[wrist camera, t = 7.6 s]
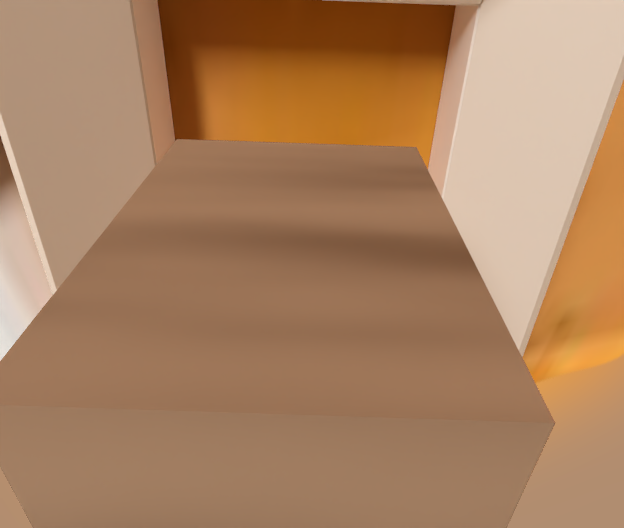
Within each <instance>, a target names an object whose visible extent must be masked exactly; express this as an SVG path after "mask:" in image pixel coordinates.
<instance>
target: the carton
mask: <svg viewBox="0 0 624 528" xmlns="http://www.w3.org/2000/svg"><path fill="white" fill-rule="evenodd" d="M324 1H352V2H380V3H408V4H436V5H456V8H455V14H454V20H453V26H452V32H451V38H450V44H449V49H448V55H447V61H446V67H445V73H444V79H443V85H442V90H441V96H440V102H439V108H438V114H437V120H436V126H435V132H434V137H433V143H432V149H431V155H430V161H429V167H428V171H429V173H430V175H431V177H432V179H433V181H434V183H435V185H436V187H437V189H438V191H439V193H440V195H441V197H442V199H443V201H444V203H445V205H446V207H447V209H448V211H449V213H450V215H451V217H452V219H453V221H454V223H455V225H456V227H457V229H458V231H459V233H460V235H461V237H462V239H463V241H464V243H465V245H466V247H467V249H468V251H469V253H470V255H471V257H472V259H473V261H474V263H475V265H476V267H477V269H478V271H479V273H480V275H481V277H482V279H483V281H484V283H485V285H486V287H487V289H488V291H489V293H490V295H491V297H492V299H493V301H494V303H495V305H496V307H497V309H498V310H499V312H500V314H501V316H502V318H503V320H504V322H505V324H506V326H507V328H508V330H509V332H510V334H511V336H512V338H513V340H514V342H515V344H516V346H517V348H518V350H519V352H520V354H521V356H522V357H523V354H524V351H525V349H526V346H527V343H528V340H529V338H530V335H531V332H532V329H533V327H534V324H535V321H536V318H537V316H538V313H539V310H540V307H541V305H542V302H543V299H544V296H545V294H546V291H547V288H548V285H549V283H550V280H551V277H552V275H553V272H554V269H555V266H556V264H557V261H558V258H559V255H560V253H561V250H562V247H563V244H564V242H565V239H566V236H567V233H568V231H569V228H570V225H571V222H572V220H573V217H574V214H575V211H576V209H577V206H578V203H579V200H580V198H581V195H582V192H583V189H584V187H585V184H586V181H587V178H588V176H589V173H590V170H591V167H592V165H593V162H594V159H595V156H596V154H597V151H598V148H599V146H600V143H601V140H602V137H603V135H604V132H605V129H606V126H607V124H608V121H609V118H610V115H611V113H612V110H613V107H614V104H615V102H616V99H617V96H618V93H619V91H620V88H621V85H622V82H623V80H624V0H324ZM0 136H1V139H2V142H3V145H4V148H5V151H6V154H7V157H8V160H9V163H10V167H11V170H12V173H13V176H14V179H15V182H16V185H17V188H18V191H19V194H20V197H21V200H22V203H23V206H24V209H25V213H26V216H27V219H28V222H29V225H30V228H31V231H32V234H33V237H34V240H35V243H36V246H37V249H38V252H39V255H40V259H41V262H42V265H43V268H44V271H45V274H46V277H47V280H48V283H49V286H50V289H51V292H52V295H53V294H54V293H55V292H56V291H57V289H58V288H59V287H60V286H61V284H62V283H63V282H64V281H65V279H66V278H67V277H68V276H69V274H70V273H71V272H72V271H73V269H74V268H75V267H76V266H77V264H78V263H79V262H80V260H81V259H82V258H83V257H84V255H85V254H86V253H87V252H88V250H89V249H90V248H91V247H92V245H93V244H94V243H95V242H96V240H97V239H98V238H99V237H100V235H101V234H102V233H103V232H104V230H105V229H106V228H107V226H108V225H109V224H110V223H111V221H112V220H113V219H114V218H115V216H116V215H117V214H118V213H119V211H120V210H121V209H122V208H123V206H124V205H125V204H126V203H127V201H128V200H129V199H130V198H131V196H132V195H133V194H134V192H135V191H136V190H137V189H138V187H139V186H140V185H141V184H142V182H143V181H144V180H145V179H146V177H147V176H148V175H149V174H150V172H151V171H152V170H153V169H154V167H155V166H156V165H157V164H158V162H159V161H160V160H161V158H162V157H163V156H164V155H165V153H166V152H167V151H168V150H169V148H170V147H171V146H172V145H173V143H174V142H175V135H174V127H173V119H172V111H171V103H170V95H169V87H168V79H167V72H166V64H165V56H164V48H163V40H162V32H161V24H160V16H159V8H158V0H0Z"/></svg>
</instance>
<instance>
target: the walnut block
mask: <svg viewBox="0 0 624 528" xmlns="http://www.w3.org/2000/svg"><path fill="white" fill-rule="evenodd" d="M554 425H555V422H554V420H553V418H552V416H551V414H550V412H549V410H548V408H547V406H546V404H545V402H544V400H543V398H542V396H541V394H540V392H539V390H538V388H537V386H536V384H535V382H534V380H533V378H532V376H531V374H530V372H529V370H528V368H527V366H526V364H525V362H524V360H523V358H522V356H521V354H520V352H519V350H518V348H517V346H516V344H515V342H514V340H513V338H512V336H511V334H510V332H509V330H508V328H507V326H506V324H505V322H504V320H503V318H502V316H501V314H500V312H499V310H498V309H497V307H496V305H495V303H494V301H493V299H492V297H491V295H490V293H489V291H488V289H487V287H486V285H485V283H484V281H483V279H482V277H481V275H480V273H479V271H478V269H477V267H476V265H475V263H474V261H473V259H472V257H471V255H470V253H469V251H468V249H467V247H466V245H465V243H464V241H463V239H462V237H461V235H460V233H459V231H458V229H457V227H456V225H455V223H454V221H453V219H452V217H451V215H450V213H449V211H448V209H447V207H446V205H445V203H444V201H443V199H442V197H441V195H440V193H439V191H438V189H437V187H436V185H435V183H434V181H433V179H432V177H431V175H430V173H429V171H428V169H427V167H426V165H425V163H424V161H423V159H422V158H421V156H420V154H419V152H418V150H417V148H416V147H395V146H366V145H337V144H307V143H278V142H249V141H219V140H190V139H177V140H176V141H175V142H174V143H173V145H172V146H171V147H170V148H169V150H168V151H167V152H166V153H165V155H164V156H163V157H162V158H161V160H160V161H159V162H158V164H157V165H156V166H155V167H154V169H153V170H152V171H151V172H150V174H149V175H148V176H147V177H146V179H145V180H144V181H143V182H142V184H141V185H140V186H139V187H138V189H137V190H136V191H135V192H134V194H133V195H132V196H131V198H130V199H129V200H128V201H127V203H126V204H125V205H124V206H123V208H122V209H121V210H120V211H119V213H118V214H117V215H116V216H115V218H114V219H113V220H112V221H111V223H110V224H109V225H108V226H107V228H106V229H105V230H104V232H103V233H102V234H101V235H100V237H99V238H98V239H97V240H96V242H95V243H94V244H93V245H92V247H91V248H90V249H89V250H88V252H87V253H86V254H85V255H84V257H83V258H82V259H81V260H80V262H79V263H78V264H77V266H76V267H75V268H74V269H73V271H72V272H71V273H70V274H69V276H68V277H67V278H66V279H65V281H64V282H63V283H62V284H61V286H60V287H59V288H58V289H57V291H56V292H55V293H54V294H53V296H52V297H51V298H50V300H49V301H48V302H47V303H46V305H45V306H44V307H43V308H42V310H41V311H40V312H39V313H38V315H37V316H36V317H35V318H34V320H33V321H32V322H31V323H30V325H29V326H28V327H27V328H26V330H25V331H24V332H23V334H22V335H21V336H20V337H19V339H18V340H17V341H16V342H15V344H14V345H13V346H12V347H11V349H10V350H9V351H8V352H7V354H6V355H5V356H4V357H3V359H2V360H1V361H0V467H1V469H2V471H3V472H4V474H5V477H6V478H7V480H8V482H9V484H10V486H11V488H12V490H13V491H14V493H15V495H16V497H17V499H18V501H19V503H20V504H21V506H22V508H23V510H24V512H25V514H26V516H27V518H28V519H29V521H30V523H31V525H32V527H33V528H506V527H507V525H508V523H509V521H510V519H511V517H512V515H513V512H514V510H515V508H516V506H517V504H518V502H519V500H520V497H521V495H522V493H523V491H524V489H525V487H526V485H527V482H528V480H529V478H530V476H531V474H532V472H533V470H534V467H535V465H536V463H537V461H538V459H539V457H540V455H541V452H542V450H543V448H544V446H545V444H546V442H547V440H548V437H549V435H550V433H551V431H552V429H553V427H554Z"/></svg>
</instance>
